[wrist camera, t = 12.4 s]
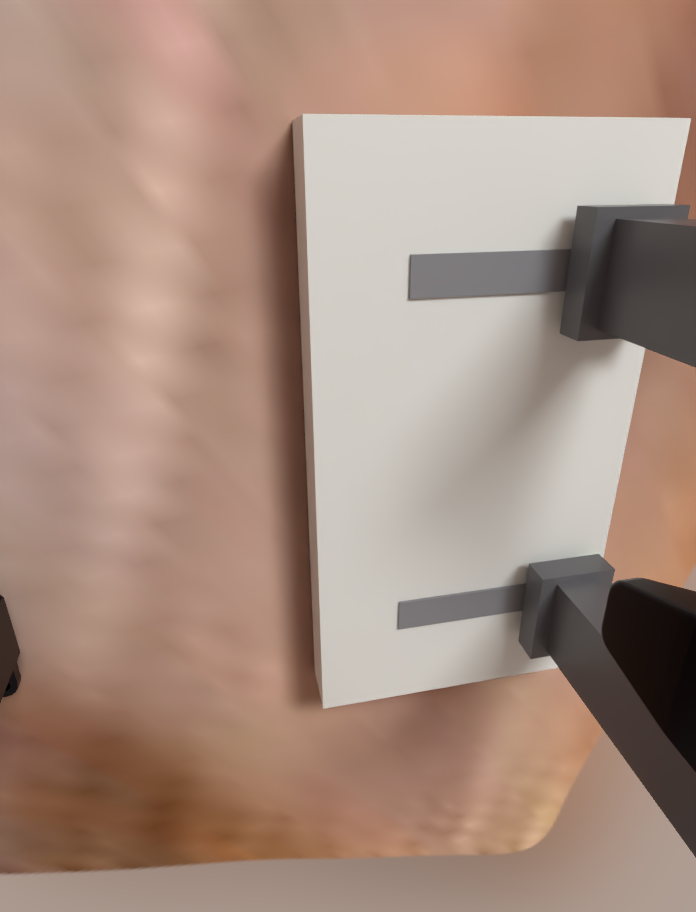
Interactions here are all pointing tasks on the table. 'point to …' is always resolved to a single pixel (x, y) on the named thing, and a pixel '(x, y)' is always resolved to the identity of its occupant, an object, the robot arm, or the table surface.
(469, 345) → the breaker panel
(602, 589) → the lever
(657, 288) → the on breaker
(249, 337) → the table surface
